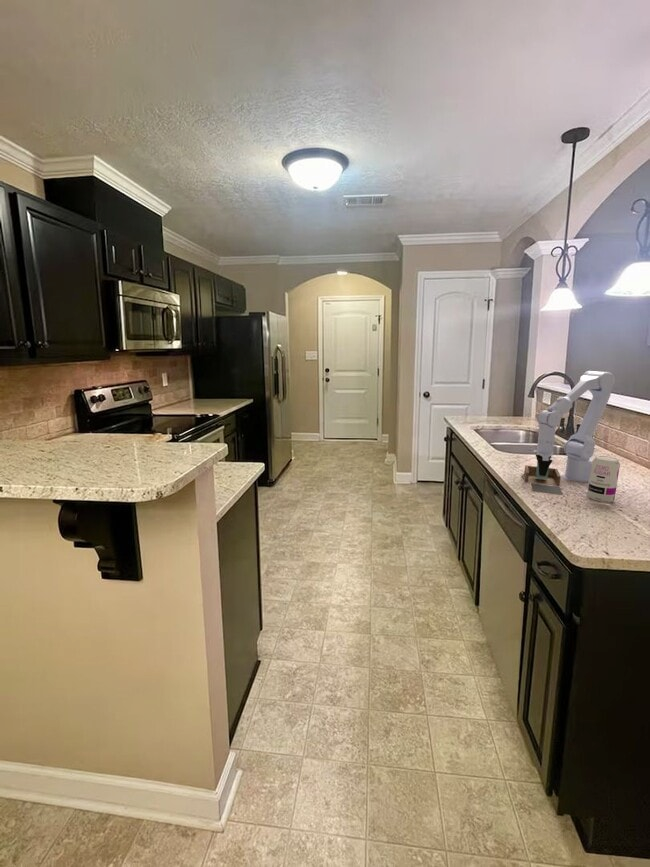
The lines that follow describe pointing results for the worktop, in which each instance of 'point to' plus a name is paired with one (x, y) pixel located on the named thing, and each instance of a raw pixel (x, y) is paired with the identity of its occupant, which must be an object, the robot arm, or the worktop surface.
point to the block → (538, 473)
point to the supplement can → (603, 478)
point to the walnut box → (552, 478)
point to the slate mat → (546, 489)
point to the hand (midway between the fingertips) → (541, 474)
